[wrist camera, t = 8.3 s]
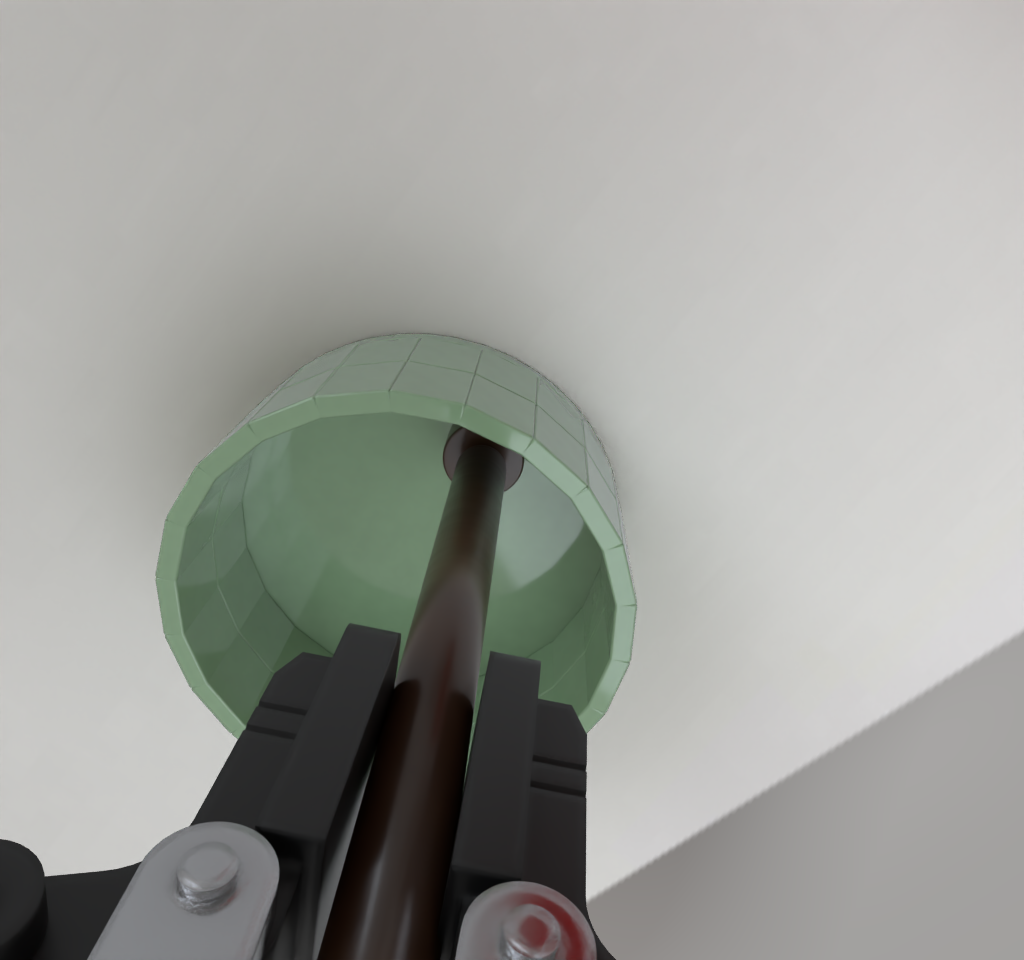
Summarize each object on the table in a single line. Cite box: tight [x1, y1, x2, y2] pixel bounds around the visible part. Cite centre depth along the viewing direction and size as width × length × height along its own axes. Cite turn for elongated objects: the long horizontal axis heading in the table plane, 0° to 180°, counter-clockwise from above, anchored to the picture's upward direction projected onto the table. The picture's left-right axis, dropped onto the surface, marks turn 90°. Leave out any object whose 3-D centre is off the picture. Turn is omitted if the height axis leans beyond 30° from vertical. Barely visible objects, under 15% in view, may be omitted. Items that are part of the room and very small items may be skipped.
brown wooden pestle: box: [317, 424, 525, 960], centre depth 14 cm, size 2×2×15 cm
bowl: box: [156, 334, 637, 775], centre depth 21 cm, size 11×11×5 cm
